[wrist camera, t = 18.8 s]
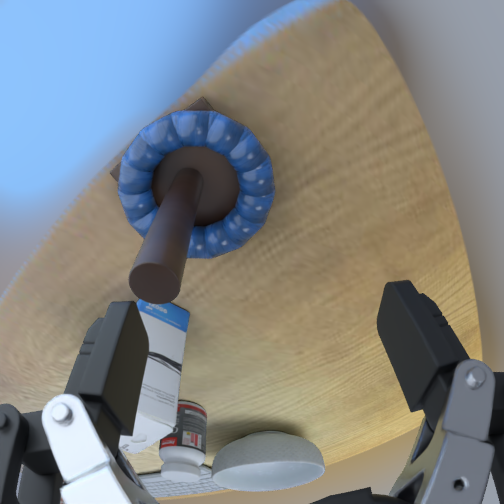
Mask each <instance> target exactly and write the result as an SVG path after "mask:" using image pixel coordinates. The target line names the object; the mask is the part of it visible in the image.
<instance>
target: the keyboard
mask: <svg viewBox="0 0 504 504" xmlns="http://www.w3.org/2000/svg"><path fill="white" fill-rule="evenodd" d="M199 469H200V471H201V475H200V480H198V481H195V482H177V481H172V480H168V479H166V478H164V477H162V476H161V472H160V473H153V474H146V475H138V477H139V478H140V480H141V481H142V483H143V484H144V486H145V487H146V489H147V490H148V491H149V493H150V494H151V495H152V496H153V497H154V498H155V497H168V496H179V495H188V494H197V493H204V492H212V491H218V490H224V489H228V488H225V487H222V486H219V485H217V484H216V483H214V482H213V480H212V477H211V475H212V474H211V472H212V469H210V468H208V467H206V466H204V465H200V466H199Z"/></svg>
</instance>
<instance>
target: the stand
mask: <svg viewBox="0 0 504 504" xmlns="http://www.w3.org/2000/svg"><path fill="white" fill-rule="evenodd" d="M184 111H214V110H213V109H212V107H211V106H210V105H209V103H208V102H207V101H206V100H205V98H204V97H201V98H200V99H199V100H197V101H196V102H194V103H193V104H192V105H190V106H189V107H188V108H186V109H185V110H184ZM120 167H121V162H120V163H119V164H118V165H117V166H116V167H115V168H114V169H113V170H112V171H110V174H111V175H112V176H113V177H114V179H115V180H116V181H117V182H119V175H120ZM151 188H152V192H153V195H154V198H155V202H156V204H157V206H158V207H159V209H158V211H157V213H156V216H155V218H154V220H153V222H152V224H151V226H150V228H149V231H148V233H147V235H146V237H145V239H144V241H143V244H142V246H141V248H140V250H139V253H138V255H137V257H136V260H135V262H134V264H133V267H132V269H131V271H130V274H129V285H130V288H131V290H132V291H133V293H134V294H135V295H136V296H137V297H138V298H140V299H141V300H143V301H145V302H147V303H151V304H166V303H169V302H171V301H172V300H174V299H175V298H176V297H177V296H178V294H179V292H180V287H181V282H182V277H183V273H184V268H185V263H186V258H187V254H188V249H189V244H190V240H191V235H192V231H193V226H208V225H210V224H213V223H215V222H218V221H220V220H223V219H224V218H225V217H226V216H227V215H228V213H229V212H230V211H231V210H232V209H233V208H234V207H235V205H236V202H237V198H238V195H239V192H240V187H239V182H238V177H237V172H236V170H235V169H234V168H233V167H232V165H231V164H230V163H229V161H228V160H227V159H226V158H225V156H223V155H221V154H219V153H217V152H215V151H213V150H211V149H209V148H207V147H182V148H179V149H177V150H175V151H173V152H171V153H169V154H167V155H165V157H164V158H163V159H162V160H161V162H160V163H159V164H158V166H157V167H156V168H155V170H154V174H153V180H152V185H151Z"/></svg>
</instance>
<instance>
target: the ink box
mask: <svg viewBox="0 0 504 504" xmlns="http://www.w3.org/2000/svg"><path fill="white" fill-rule="evenodd" d="M136 304H137V307H138V310H139V312H140V315H141V318H142V321H143V323H144V326H145V329H146V331H147V334H148V338H149V354H148V358H147V363H146V368H145V373H144V377H143V382H142V387H141V392H140V397H139V403H138V408H137V413H136V419H135V425H134V430H133V436H122V435H121V436H120V441H119V446H120V448H121V449H122V450H124V451H126V452H129V453H134V454H136V453H139V452H140V451H142V450H144V449H146V448H147V447H148V446H150V445H152V444H154V443H155V442H156V441H158V440H160V439H162V438H164V437H165V436H167V435H168V434H170V433H171V432H173V427H174V426H175V425H176V417H177V407H178V397H179V388H180V380H181V371H182V363H183V356H184V349H185V342H186V335H187V328H188V322H189V316H190V313H189V312H187V311H185V310H184V309H181V308H179V307H177V306H176V305H173V304H172V303H170V302H169V303H166V304H151V303H147V302H145V301H143V300H141V299H139V300H138V302H137V303H136Z"/></svg>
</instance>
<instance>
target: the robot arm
mask: <svg viewBox="0 0 504 504" xmlns="http://www.w3.org/2000/svg"><path fill="white" fill-rule="evenodd" d="M377 330H378V334H379V336H380V338H381V341H382V343H383V345H384V348H385V350H386V352H387V355H388V357H389V359H390V362H391V364H392V366H393V369H394V371H395V374H396V376H397V378H398V381H399V383H400V386H401V388H402V391H403V393H404V396H405V398H406V401H407V403H408V406H409V409H410V411H411V412H415V411H418V410H422V409H423V411H424V413H425V417H424V418H423V420H422V423H421V426H420V429H419V432H418V435H417V437H416V440H415V443H414V445H413V448H412V451H411V453H410V456H409V458H408V461H407V463H406V465H405V467H404V469H403V471H402V473H401V474H400V476H399V477H398V479H397V480H396V482H395V484H394V486H393V487H392V490H391V491H390V493H389V496H387V495H379V494H372V492H371V487H368V488H364V489H360V490H355V491H351V492H346V493H341V494H336V495H330V496H328V497H326V498H323V499H321V500H318V501H316V502H313V503H310V504H482V501H483V497H484V494H485V490H486V487H487V483H488V479H489V475H490V471H491V473H492V476H493V480H494V483H495V487H496V490H497V494H498V498H499V501H500V504H504V372H492V370H491V369H490V368H489V367H488V366H487V365H486V364H485V363H483V362H481V361H479V360H475V359H470V358H469V356H468V354H467V353H466V351H465V349H464V348H463V346H462V344H461V343H460V341H459V339H458V338H457V336H456V334H455V333H454V331H453V330H452V328H451V326H450V325H448V322H447V320H446V319H445V317H444V316H442V312H441V311H440V309H439V308H438V306H437V305H436V303H435V302H434V301H432V300H431V299H430V298H429V297H427V296H426V295H425V294H424V293H422V294H419V293H418V291H417V290H416V288H415V287H414V285H413V284H412V283H411V281H409V280H403V281H394V282H388V283H386V285H385V288H384V292H383V296H382V300H381V304H380V308H379V312H378V316H377ZM83 342H84V344H82V346H81V349H80V351H79V353H80V354H78V356H77V359H76V361H75V364H74V367H73V369H72V372H71V375H70V377H69V380H68V383H67V386H66V389H65V391H64V394H61V395H58V396H56V397H54V398H52V399H51V400H50V401H49V402H48V403H47V404H46V406H45V407H44V409H43V410H42V411H36V412H30V413H23V414H21V413H20V412H19V411H18V410H17V409H16V408H15V407H14V406H13V405H11V404H1V405H0V504H60V501H61V496H62V498H63V500H64V502H65V504H159V503H158V502H157V501H156V500H155V498H154V497H153V496H152V495H151V494H150V493H149V491H148V490H147V489H146V487H145V486H144V484H143V483H142V481H141V480H140V478H139V477H138V475H137V474H136V472H135V471H134V469H133V467H132V466H131V464H130V463H129V461H128V459H127V458H126V456H125V454H124V453H123V451H122V449H121V448H120V446H119V441H120V436H121V435H122V436H133V430H134V425H135V419H136V413H137V408H138V403H139V397H140V392H141V387H142V382H143V377H144V373H145V368H146V363H147V358H148V354H149V338H148V334H147V331H146V329H145V326H144V323H143V321H142V318H141V315H140V312H139V310H138V307H137V304H136V303H135V302H134V301H122V302H112V303H111V304H110V305H109V308H108V310H107V313H106V315H105V318H98V319H97V320H96V321H95V322H94V323H93V325H92V326H91V327H90V328H89V329H88V331H87V334H86V336H85V339H84V341H83ZM21 464H23V465H24V467H23V472H22V477H21V482H20V487H19V493H18V499H17V496H16V489H17V483H18V478H19V473H20V468H21ZM63 480H64V484H63Z"/></svg>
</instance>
